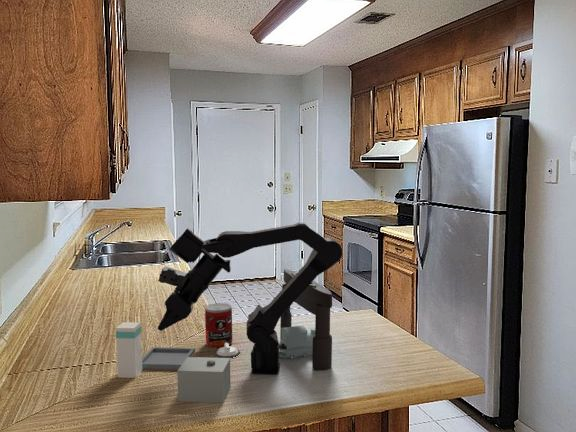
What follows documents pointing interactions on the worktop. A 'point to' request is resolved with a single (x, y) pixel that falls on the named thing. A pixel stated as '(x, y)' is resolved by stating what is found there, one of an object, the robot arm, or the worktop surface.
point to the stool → (319, 338)
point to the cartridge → (129, 350)
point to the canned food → (218, 324)
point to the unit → (204, 379)
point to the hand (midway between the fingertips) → (162, 324)
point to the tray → (166, 358)
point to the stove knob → (227, 352)
